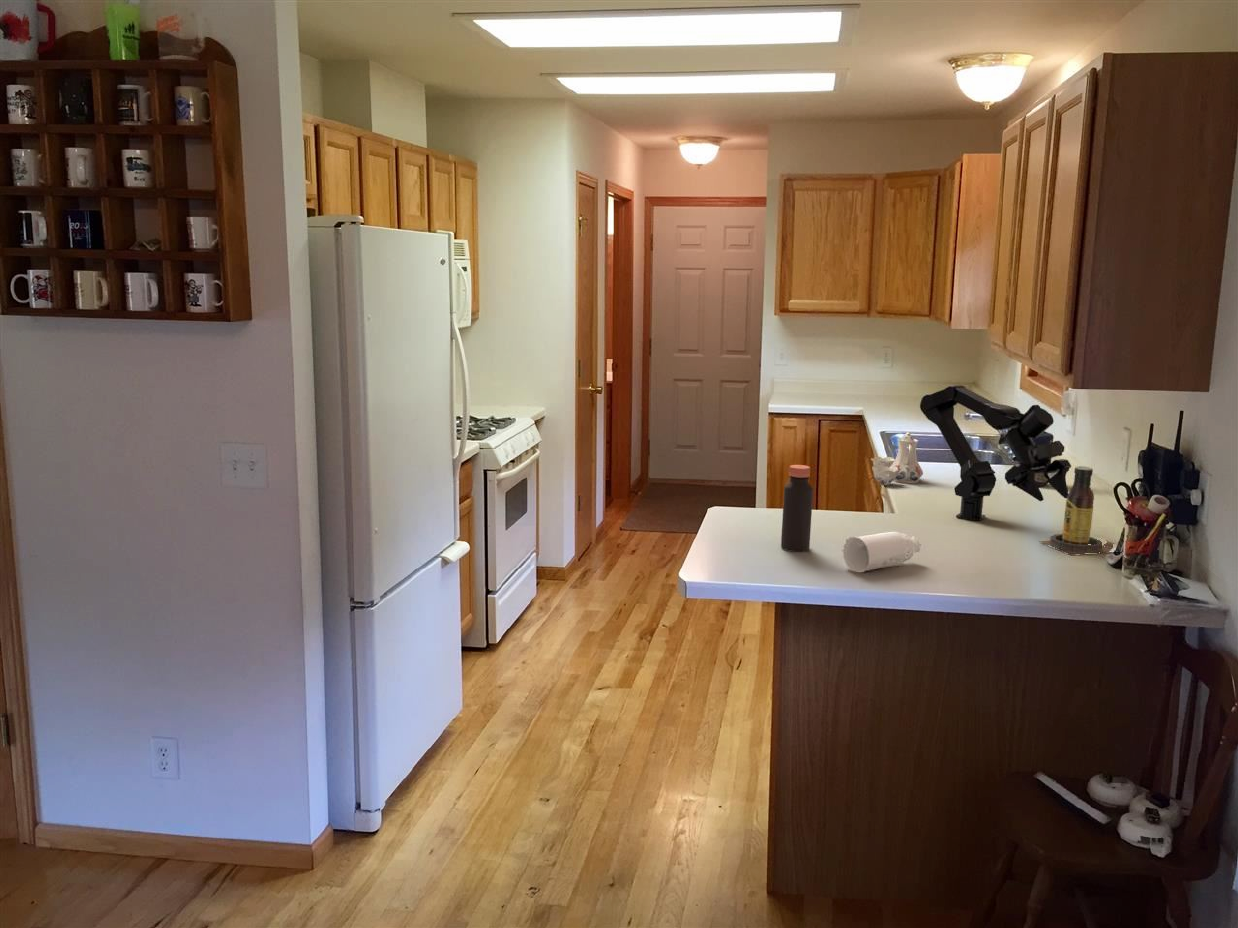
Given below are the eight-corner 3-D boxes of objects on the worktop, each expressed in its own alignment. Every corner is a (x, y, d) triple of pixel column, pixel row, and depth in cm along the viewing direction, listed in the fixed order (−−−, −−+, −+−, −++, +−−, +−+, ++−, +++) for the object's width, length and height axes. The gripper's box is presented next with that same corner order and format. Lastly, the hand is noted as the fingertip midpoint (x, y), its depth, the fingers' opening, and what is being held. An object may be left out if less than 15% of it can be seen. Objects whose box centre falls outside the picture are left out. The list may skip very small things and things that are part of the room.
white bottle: (926, 566, 240) (930, 533, 238) (865, 576, 230) (868, 541, 229) (901, 558, 246) (904, 525, 245) (841, 567, 237) (843, 533, 235)
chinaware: (866, 475, 354) (864, 427, 351) (917, 473, 351) (915, 424, 348) (874, 492, 326) (872, 440, 324) (929, 490, 324) (928, 437, 321)
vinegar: (775, 545, 254) (780, 464, 250) (799, 543, 257) (804, 463, 253) (790, 552, 248) (795, 470, 244) (814, 550, 250) (820, 468, 247)
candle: (1021, 480, 344) (1027, 426, 340) (1051, 484, 338) (1057, 429, 335) (1013, 484, 336) (1018, 429, 333) (1044, 488, 331) (1050, 432, 327)
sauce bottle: (1061, 541, 264) (1070, 464, 260) (1088, 544, 261) (1097, 466, 258) (1060, 547, 258) (1069, 468, 254) (1088, 550, 255) (1097, 470, 252)
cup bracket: (1099, 539, 268) (1100, 532, 268) (1133, 552, 257) (1134, 544, 256) (1039, 542, 264) (1039, 534, 263) (1070, 555, 252) (1071, 547, 252)
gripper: (1018, 432, 261) (1050, 484, 253) (1069, 428, 270) (1101, 478, 262) (990, 457, 269) (1021, 508, 262) (1040, 453, 278) (1071, 502, 271)
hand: (1054, 499), depth 264 cm, fingers open, 9 cm apart
